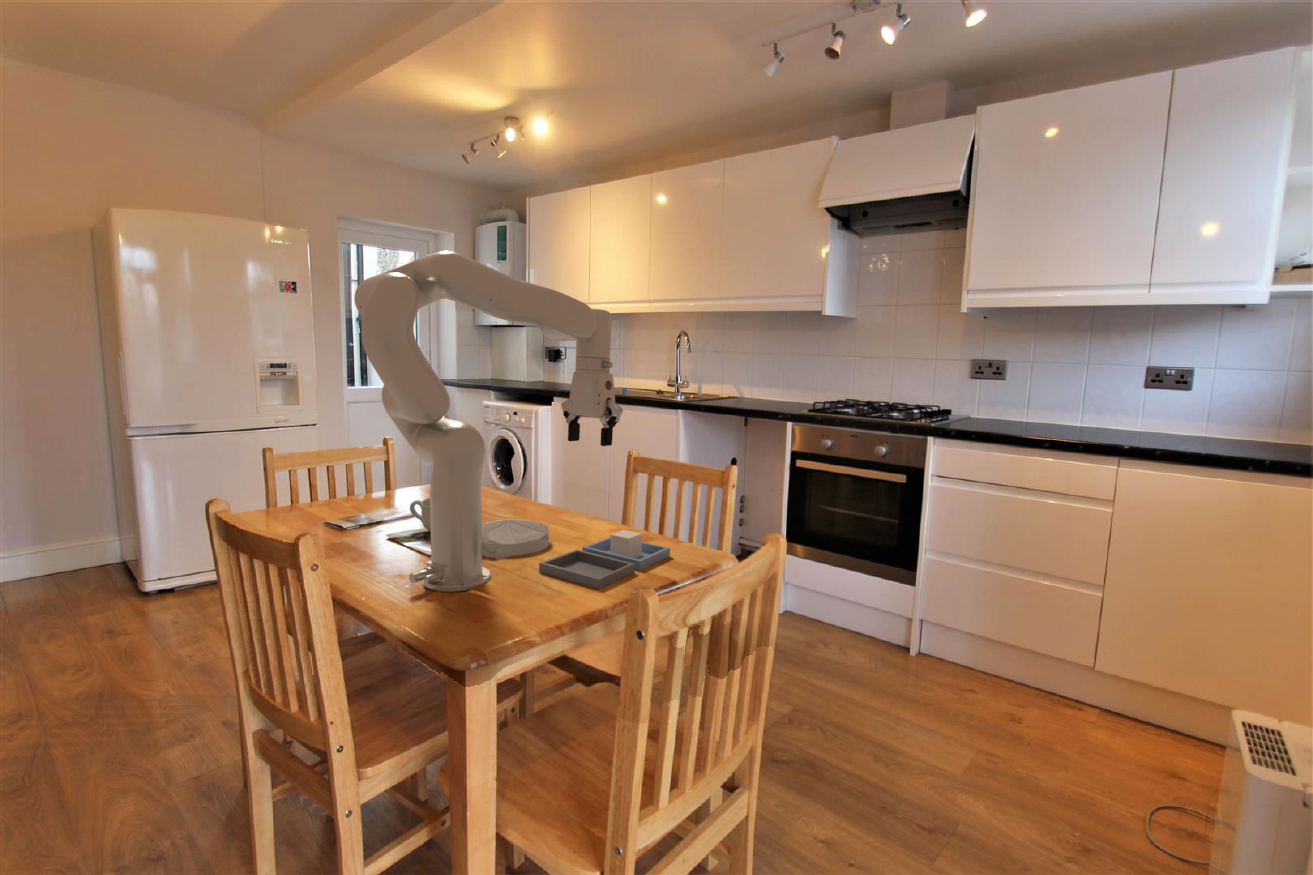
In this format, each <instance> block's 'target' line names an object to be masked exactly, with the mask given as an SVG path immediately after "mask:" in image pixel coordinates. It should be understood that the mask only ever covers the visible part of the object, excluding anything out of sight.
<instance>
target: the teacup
mask: <svg viewBox="0 0 1313 875" xmlns="http://www.w3.org/2000/svg"><path fill="white" fill-rule="evenodd" d="M416 505H418V506H419V507H420V510H421V513H420V514H419V512H417V510H416V508H415V507H416ZM409 511H410V514H411V515H412V516H413V517H415V518H416V519H417V520H419V521H420V522H421V523H422V526H423V528H424V529H425V530H427V531H429V532H430V533H431V520H430V497H428V498H426V499H423V500H419V499H416V500H413V501H412V502H411V503H410V505H409Z"/></svg>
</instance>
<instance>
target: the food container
mask: <svg viewBox="0 0 1313 875" xmlns="http://www.w3.org/2000/svg"><path fill="white" fill-rule="evenodd" d="M549 532H550V529H549V527H548V526H547V524H545V523H543V522H541V521H535V520H534V521H533V520H531V519H530V520H528V519H521V518H509V519H508V518H507V519H506V518H504V519H498V520H497V519H495V520H490V521H486V522H484V523H483V522H482V558H483V557H484V556H485V557H484V558H487V559H488V560H490V558H492V559H494V560H501V559H502V560H503V559H506V558H509V557H513V556H515V557H517V556H523V555H529V554H533V553H534V554H535V553H538V552H541V551H543V550H546V549H547V548H548V547H550V546H551V543H552V542H551V539H550V536H549Z"/></svg>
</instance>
